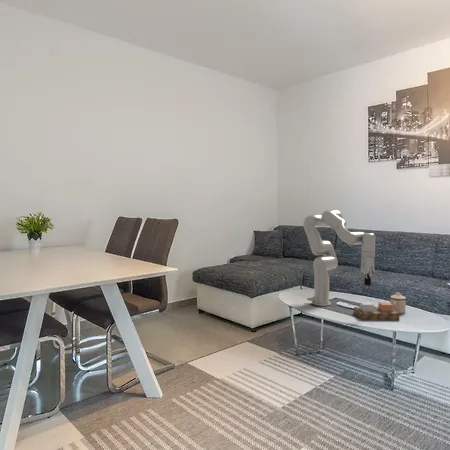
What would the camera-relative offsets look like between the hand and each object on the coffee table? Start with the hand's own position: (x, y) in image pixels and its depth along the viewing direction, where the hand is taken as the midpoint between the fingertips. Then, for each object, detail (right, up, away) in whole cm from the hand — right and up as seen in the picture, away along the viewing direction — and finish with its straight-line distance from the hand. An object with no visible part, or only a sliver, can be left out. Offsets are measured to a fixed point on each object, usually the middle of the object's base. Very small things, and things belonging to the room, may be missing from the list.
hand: (367, 285), depth 227 cm
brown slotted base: (+5, -19, +1) cm, 20 cm away
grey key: (0, -16, +1) cm, 16 cm away
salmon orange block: (+11, -16, +1) cm, 19 cm away
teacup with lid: (+22, -19, +11) cm, 31 cm away
